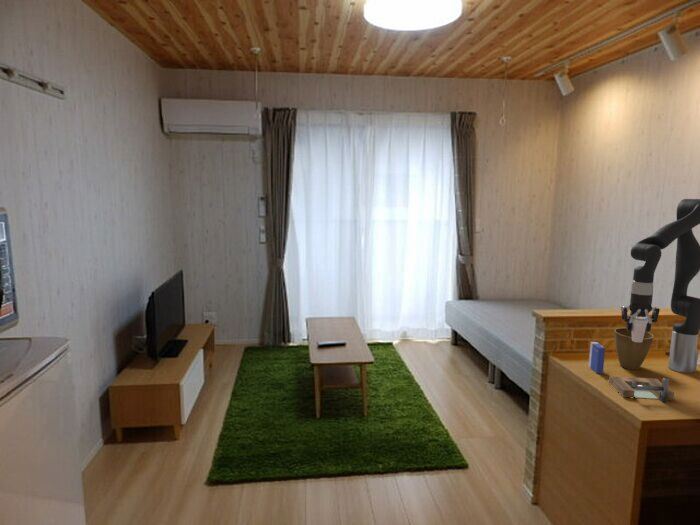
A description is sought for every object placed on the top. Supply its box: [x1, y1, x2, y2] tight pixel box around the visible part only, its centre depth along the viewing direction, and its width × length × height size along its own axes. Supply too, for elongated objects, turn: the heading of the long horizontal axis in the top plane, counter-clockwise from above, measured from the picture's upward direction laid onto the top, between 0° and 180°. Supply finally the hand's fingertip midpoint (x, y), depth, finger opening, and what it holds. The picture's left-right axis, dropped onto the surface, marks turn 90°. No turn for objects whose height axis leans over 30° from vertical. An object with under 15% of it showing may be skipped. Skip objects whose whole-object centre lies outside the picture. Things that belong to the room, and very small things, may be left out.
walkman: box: [588, 341, 606, 374], centre depth 201 cm, size 8×3×12 cm, turn 176°
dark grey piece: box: [632, 377, 670, 403], centre depth 172 cm, size 13×2×9 cm, turn 82°
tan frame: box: [608, 375, 675, 401], centre depth 180 cm, size 18×13×3 cm
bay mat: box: [632, 388, 659, 400], centre depth 179 cm, size 9×9×1 cm
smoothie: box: [632, 316, 648, 342], centre depth 189 cm, size 6×6×14 cm
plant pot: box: [614, 327, 654, 371], centre depth 204 cm, size 15×15×16 cm
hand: (638, 331), depth 189 cm, fingers closed on smoothie, 6 cm apart
